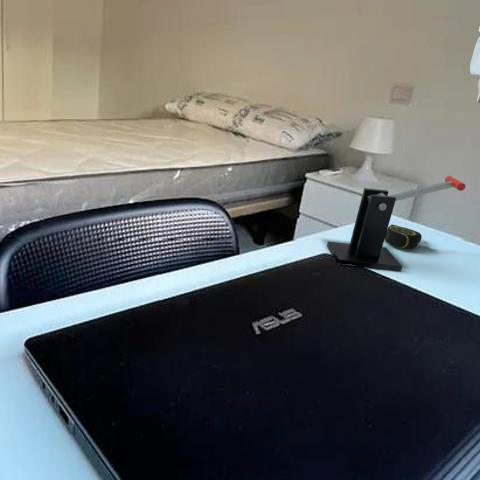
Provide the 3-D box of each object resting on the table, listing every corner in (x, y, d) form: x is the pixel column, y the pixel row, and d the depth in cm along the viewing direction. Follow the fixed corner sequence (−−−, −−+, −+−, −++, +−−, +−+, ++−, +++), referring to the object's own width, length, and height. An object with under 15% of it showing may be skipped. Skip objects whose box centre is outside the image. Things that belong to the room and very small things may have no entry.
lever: (453, 184, 95) (452, 172, 95) (466, 192, 91) (465, 179, 90) (366, 205, 98) (364, 194, 97) (375, 213, 94) (373, 202, 93)
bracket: (384, 252, 104) (402, 189, 98) (400, 271, 96) (421, 203, 90) (326, 246, 104) (341, 183, 99) (337, 265, 96) (355, 197, 91)
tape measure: (419, 246, 109) (424, 230, 107) (411, 255, 104) (416, 238, 102) (387, 237, 113) (391, 221, 111) (378, 245, 108) (382, 228, 106)
